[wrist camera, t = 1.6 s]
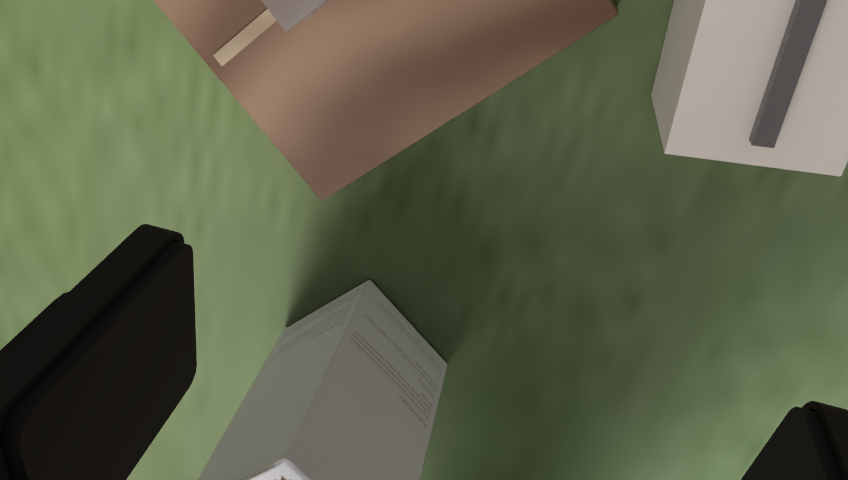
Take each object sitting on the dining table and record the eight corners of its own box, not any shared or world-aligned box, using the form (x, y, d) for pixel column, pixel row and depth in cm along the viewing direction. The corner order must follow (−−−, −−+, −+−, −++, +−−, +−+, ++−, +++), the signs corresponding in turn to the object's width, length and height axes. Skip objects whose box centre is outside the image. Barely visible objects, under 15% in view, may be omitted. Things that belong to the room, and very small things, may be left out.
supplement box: (280, 327, 40) (171, 507, 30) (372, 275, 37) (286, 457, 26) (359, 409, 42) (285, 603, 32) (453, 366, 39) (404, 568, 28)
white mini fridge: (868, -86, 24) (950, -58, 18) (795, 112, 28) (845, 183, 22) (698, -99, 25) (729, -76, 19) (650, 95, 29) (665, 159, 23)
